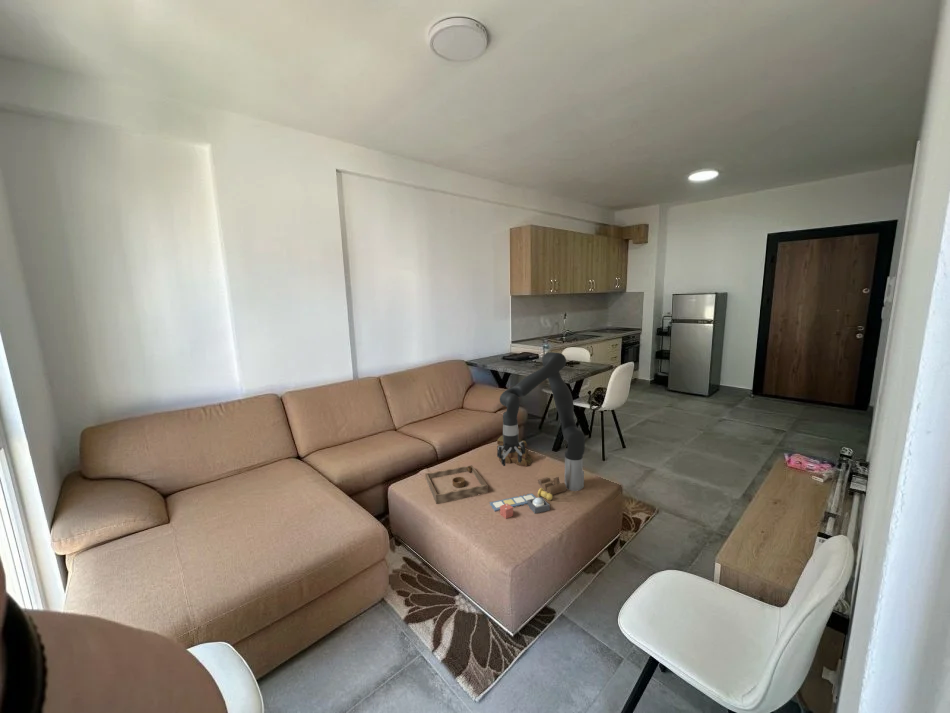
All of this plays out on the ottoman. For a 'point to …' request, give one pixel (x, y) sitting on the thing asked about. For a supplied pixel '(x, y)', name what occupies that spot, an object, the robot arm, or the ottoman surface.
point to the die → (506, 511)
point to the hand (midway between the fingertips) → (511, 463)
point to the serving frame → (458, 493)
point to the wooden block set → (550, 487)
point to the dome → (538, 502)
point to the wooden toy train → (516, 455)
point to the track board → (512, 501)
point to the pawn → (544, 494)
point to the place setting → (460, 480)
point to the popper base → (540, 508)
